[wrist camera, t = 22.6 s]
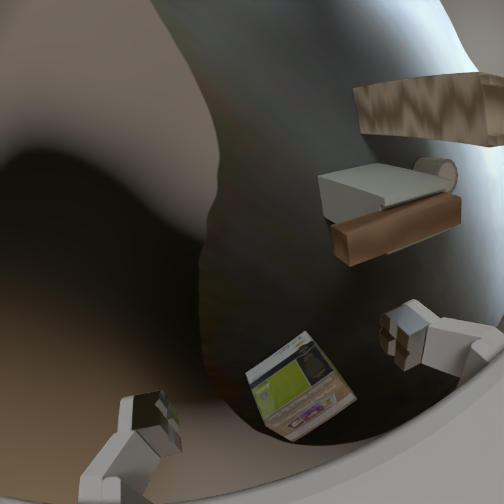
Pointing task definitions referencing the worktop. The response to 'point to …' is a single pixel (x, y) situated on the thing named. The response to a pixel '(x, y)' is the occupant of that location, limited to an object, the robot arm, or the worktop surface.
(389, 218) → the walnut bar
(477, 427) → the robot arm
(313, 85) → the worktop surface
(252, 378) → the tea box
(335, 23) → the worktop surface
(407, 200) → the block
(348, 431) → the worktop surface
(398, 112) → the shelf block
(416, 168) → the grey brown short cylinder
